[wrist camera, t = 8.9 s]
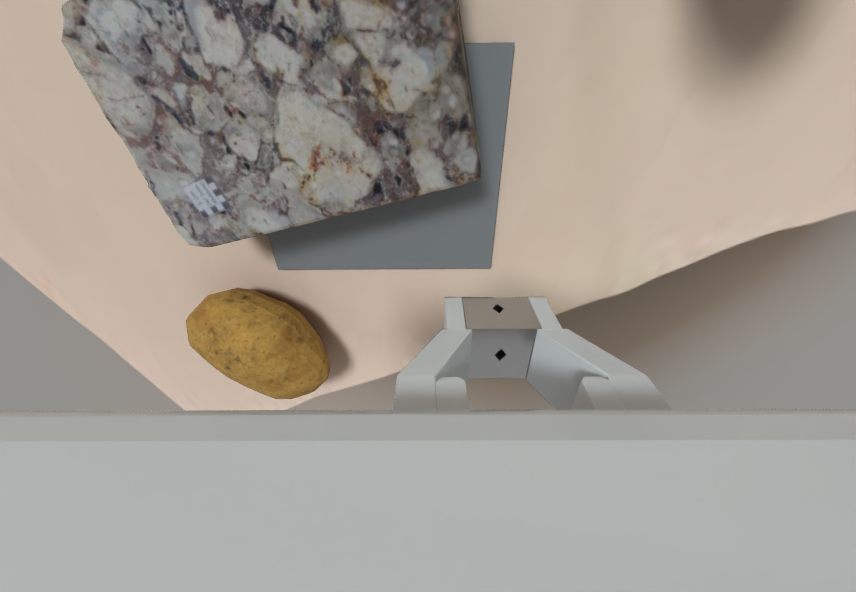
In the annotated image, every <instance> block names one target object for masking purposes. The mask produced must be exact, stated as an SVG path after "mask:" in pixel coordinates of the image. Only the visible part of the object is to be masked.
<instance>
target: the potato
mask: <svg viewBox="0 0 856 592" xmlns="http://www.w3.org/2000/svg"><path fill="white" fill-rule="evenodd" d="M186 326H187V333H188V340H189V343H190V346H191V347H192V348H193V349H194V350H195V351H197V352H198V353H199V354H200V355H201V356H202V357H203V358H204V359H205V360H206V361H207V362H209V363H210V364H211V365H212V366H213V367H215V368H216V369H217V370H219V371H220V372H221V373H223V374H224V375H226V376H227V377H228V378H230V379H232V380H234V381H236V382H238V383H240V384H242V385H244V386H246V387H248V388H250V389H252V390H255V391H257V392H259V393H261V394H264V395H267V396H269V397H272V398H275V399H293V398H296V397H299V396H303V395H306V394H309V393H311V392H313V391H315V390H316V389H317V388H318V387H319V386H320V385H321V384H322V383H323V382H324V381H325V380H326V379H327V378H328V376H329V372H330V367H329V358H328V355H327V352H326V349H325V347H324V345H323V343H322V341H321V338H320V337H319V335H318V334H317V333H316V331H315V330H314V329H313V327H312V326H311V325H310V324H309V322H308V321H307V320H306V319H305V317H304V316H303V315H302V314H301V313H300V312H299V311H297V310H296V309H294V308H293V307H291V306H290V305H288V304H287V303H284V302H282V301H279V300H276V299H274V298H271V297H269V296H267V295H264V294H262V293H260V292H257V291H254V290H248V289H242V288H236V289H232V290H228V291H223V292H219V293H215V294H211V295H208V296H207V297H206V298H205V299H204V300H203V301H202V302H201V303H200V304H199V305H198V306H197V308H196V309H195V310H194V311H193V312H192V313H191V314H190V315H189V317H188V318H187V320H186Z"/></svg>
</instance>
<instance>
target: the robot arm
mask: <svg viewBox="0 0 856 592" xmlns="http://www.w3.org/2000/svg"><path fill="white" fill-rule="evenodd" d="M483 378H512V379H526V380H527V381H528V382H529V383H530V384H531V385H532V386H533V387H534V388H535V389H536V391H538V393H539V394H541V395H542V396H543V398H544V399H546V401H547V402H548V403H549V404H550V405H551V406H552V407H553V408H555V410H469V408H468V400H467V393H466V383H467V382H468V379H483ZM0 592H856V409H730V410H729V409H711V410H710V409H705V410H703V409H696V410H695V409H693V410H692V409H690V410H689V409H686V410H683V409H682V410H681V409H680V410H675V409H674V410H673V409H671V408H670V406H669V405H668V404H667V402H666V401H665V400H664V398H663V397H662V395H661V394H660V393H659V391H658V390H657V389H656V387H655V386H654V385H653V384H652V382H651V381H650V379H649V378H648V377H647V375H645V374H643V373H642V372H640V371H638V370H636V369H635V368H633V367H631V366H629V365H628V364H626V363H625V362H623V361H621V360H619V359H618V358H616V357H614V356H613V355H611V354H609V353H608V352H606V351H604V350H602V349H601V348H599V347H597V346H596V345H594V344H592V343H591V342H588V341H587V340H585V339H584V338H582V337H580V336H579V335H577V334H575V333H574V332H572V331H570V330H568V329H562V327H561V325H560V324H559V322H558V320H557V318H556V316H555V315H554V313H553V311H552V309H551V307H550V305H549V304H548V302H547V300H546V298H545V297H543V296H537V297H512V298H494V297H445V298H444V323H443V330H441V331H440V332H439V333H438V334H437V335H436V336H435V337H434V338H433V339H432V340H431V341H430V342H429V343H428V344H427V345H426V346H425V348H424V349H423V350H422V351H421V352H420V353H419V354H418V355H417V356H416V357H415V358H414V359H413V360H412V361H411V362H410V363H409V364H408V365H407V366H406V367H405V368H404V369H403V370H402V371H401V372H400V373H399V375H398V376H397V383H396V391H395V399H394V409H393V410H291V411H290V410H250V411H13V410H12V411H10V410H9V411H8V410H1V411H0Z"/></svg>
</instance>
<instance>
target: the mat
mask: <svg viewBox="0 0 856 592" xmlns="http://www.w3.org/2000/svg"><path fill="white" fill-rule="evenodd" d="M514 44H515V43H465V49H466V55H467V62H468V70H469V77H470V85H471V93H472V100H473V108H474V116H475V123H476V131H477V138H478V144H479V150H480V162H481V179H479V180H476V181H471V182H468V183H466V184H463V185H459V186H455V187H452V188H449V189H445V190H440V191H434V192H431V193H427V194H424V195H421V196H417V197H413V198H410V199H406V200H402V201H397V202H393V203H389V204H386V205H382V206H377V207H373V208H368V209H365V210H362V211H356V212H352V213H348V214H344V215H340V216H335V217H332V218H328V219H324V220H320V221H316V222H313V223H309V224H305V225H301V226H297V227H293V228H288V229H284V230H280V231H276V232H272V233H268V236H269V239H270V243H271V246H272V250H273V253H274V256H275V260H276V263H277V267H278V270H298V269H456V268H491V259H492V250H493V240H494V231H495V222H496V212H497V203H498V194H499V184H500V175H501V165H502V156H503V147H504V137H505V128H506V119H507V109H508V100H509V90H510V81H511V72H512V62H513V53H514ZM482 176H483V177H482Z"/></svg>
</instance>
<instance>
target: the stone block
mask: <svg viewBox="0 0 856 592" xmlns="http://www.w3.org/2000/svg"><path fill="white" fill-rule="evenodd" d="M62 13H63V20H64V26H63V36H62V43H63V44H64V46H65V48H66V49H67V51H68V53H69V55H70V56H71V58H72V60H73V62H74V65H75V67H76V68H77V70H78V71H79V73H80V74H81V76H82V77H83V79H84V80H85V81H86V83H87V85H88V87H89V88H90V90H91V92H92V94H93V96H94V97H95V99H96V101H97V103H98V104H99V106H100V108H101V110H102V111H103V113H104V115H105V117H106V118H107V119H108V121H109V122H110V124H111V125H112V127H113V128H114V130H115V131H116V132H117V133H118V135H119V136H120V137H121V138H122V139H123V141H124V143H125V145H126V146H127V148H128V149H129V151H130V153H131V154H132V156H133V157H134V159H135V162H136V164H137V166H138V168H139V170H140V171H141V173H142V174H143V176H144V177H145V179H146V180H147V182H148V184H149V185H148V187H149V188H150V189H151V190H152V192H153V193H154V195H155V196H156V197H157V199H158V200H159V202H160V204H161V206H162V207H163V209H164V211H165V212H166V214H167V215H168V216H169V218H170V219H171V221H172V223H173V225H174V227H175V229H176V230H177V232H178V233H179V234H180V235H181V236H182V237H183V238H184V239H185V240H186V241H187V243H188V244H190V245H194V246H200V247H213V246H217V245H222V244H226V243H230V242H234V241H238V240H242V239H246V238H250V237H254V236H257V235H262V234H268V233H272V232H276V231H280V230H284V229H288V228H293V227H297V226H301V225H305V224H309V223H313V222H316V221H320V220H324V219H328V218H332V217H335V216H340V215H344V214H348V213H352V212H356V211H362V210H365V209H368V208H373V207H377V206H382V205H386V204H389V203H393V202H397V201H402V200H406V199H410V198H413V197H417V196H421V195H424V194H427V193H431V192H434V191H440V190H445V189H449V188H452V187H455V186H459V185H463V184H466V183H468V182H471V181H476V180H479V179H481V162H480V150H479V144H478V138H477V131H476V123H475V116H474V108H473V100H472V93H471V85H470V77H469V70H468V62H467V55H466V49H465V42H464V36H463V30H462V23H461V17H460V10H459V4H458V0H69V1H67V2H66V3H65V4H63V5H62ZM482 177H483V176H482Z"/></svg>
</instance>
